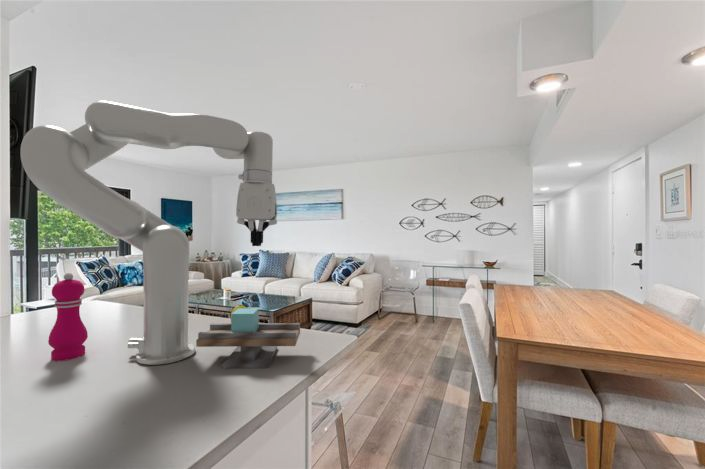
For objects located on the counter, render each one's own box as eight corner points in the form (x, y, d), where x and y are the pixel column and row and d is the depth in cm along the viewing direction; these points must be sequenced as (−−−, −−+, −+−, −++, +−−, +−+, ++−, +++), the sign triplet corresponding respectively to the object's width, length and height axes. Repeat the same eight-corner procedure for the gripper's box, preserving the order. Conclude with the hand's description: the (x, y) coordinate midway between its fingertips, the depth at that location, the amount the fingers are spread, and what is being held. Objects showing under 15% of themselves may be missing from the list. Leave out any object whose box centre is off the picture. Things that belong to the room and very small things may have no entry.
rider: (231, 335, 78) (231, 313, 78) (238, 328, 83) (238, 308, 83) (253, 335, 78) (253, 313, 78) (258, 328, 83) (258, 308, 83)
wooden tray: (194, 368, 74) (194, 336, 74) (214, 349, 86) (214, 321, 86) (294, 367, 75) (294, 335, 75) (300, 348, 87) (300, 321, 87)
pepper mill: (94, 353, 82) (94, 272, 82) (58, 364, 76) (58, 275, 76) (77, 348, 85) (77, 270, 85) (41, 358, 79) (41, 273, 79)
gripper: (225, 176, 88) (224, 245, 88) (282, 177, 88) (280, 247, 88) (235, 180, 96) (234, 244, 96) (288, 181, 95) (286, 245, 96)
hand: (256, 245), depth 92 cm, fingers closed
